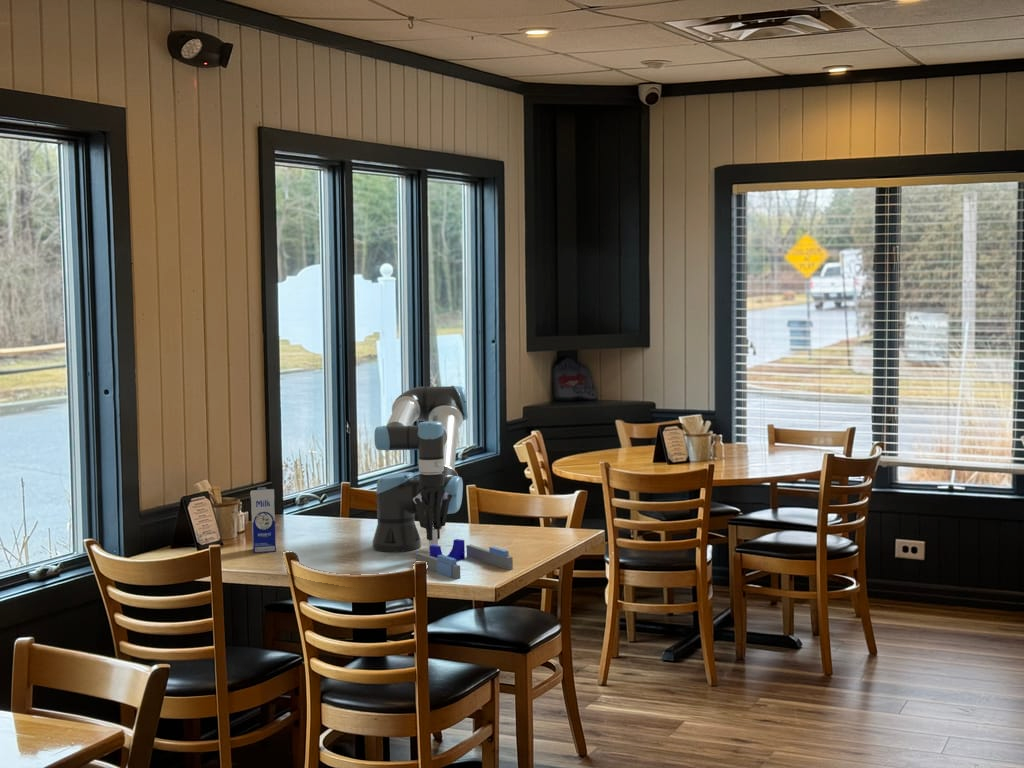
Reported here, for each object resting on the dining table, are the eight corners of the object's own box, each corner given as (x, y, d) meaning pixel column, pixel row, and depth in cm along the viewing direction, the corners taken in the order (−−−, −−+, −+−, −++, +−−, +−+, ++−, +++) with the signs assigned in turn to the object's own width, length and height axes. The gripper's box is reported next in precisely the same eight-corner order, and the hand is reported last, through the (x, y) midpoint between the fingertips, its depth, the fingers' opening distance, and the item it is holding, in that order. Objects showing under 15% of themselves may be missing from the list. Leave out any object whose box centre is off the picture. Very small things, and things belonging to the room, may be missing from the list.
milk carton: (253, 553, 374) (251, 489, 372) (252, 549, 380) (249, 486, 379) (276, 551, 375) (274, 488, 374) (274, 547, 382) (272, 485, 381)
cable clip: (441, 568, 348) (440, 547, 347) (430, 566, 351) (429, 545, 350) (468, 560, 357) (468, 540, 357) (457, 558, 360) (456, 539, 360)
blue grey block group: (414, 564, 352) (414, 548, 351) (470, 556, 362) (470, 539, 362) (454, 579, 333) (454, 561, 332) (512, 569, 343) (512, 552, 343)
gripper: (418, 476, 354) (420, 555, 355) (456, 472, 361) (458, 549, 362) (406, 473, 360) (408, 551, 361) (444, 469, 367) (445, 545, 368)
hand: (433, 550), depth 362 cm, fingers closed
